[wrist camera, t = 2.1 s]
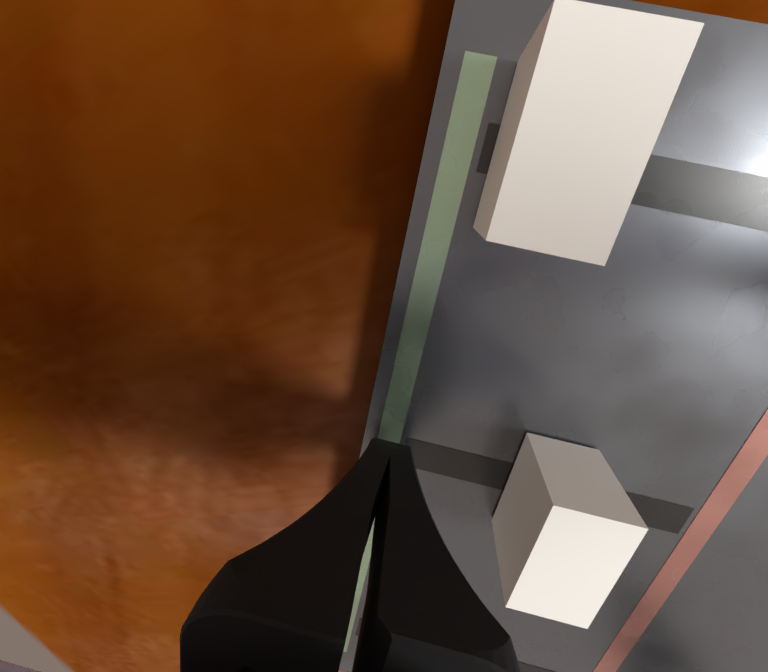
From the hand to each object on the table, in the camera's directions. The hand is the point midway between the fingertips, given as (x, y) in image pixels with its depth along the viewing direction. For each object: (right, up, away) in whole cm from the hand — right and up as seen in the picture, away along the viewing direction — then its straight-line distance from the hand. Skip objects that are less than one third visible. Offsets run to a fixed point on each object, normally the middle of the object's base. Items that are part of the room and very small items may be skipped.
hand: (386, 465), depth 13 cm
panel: (+8, -1, +1) cm, 8 cm away
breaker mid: (+5, -1, +1) cm, 6 cm away
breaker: (+4, +9, -3) cm, 10 cm away
